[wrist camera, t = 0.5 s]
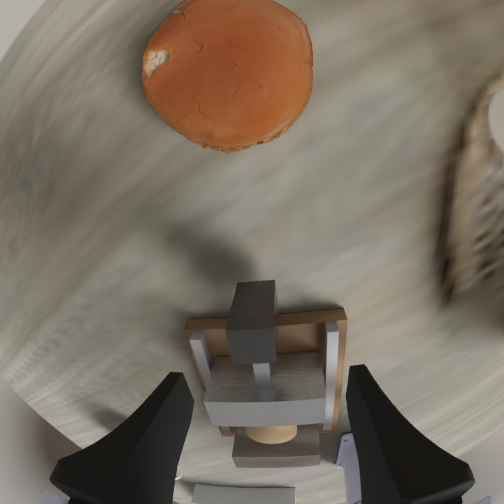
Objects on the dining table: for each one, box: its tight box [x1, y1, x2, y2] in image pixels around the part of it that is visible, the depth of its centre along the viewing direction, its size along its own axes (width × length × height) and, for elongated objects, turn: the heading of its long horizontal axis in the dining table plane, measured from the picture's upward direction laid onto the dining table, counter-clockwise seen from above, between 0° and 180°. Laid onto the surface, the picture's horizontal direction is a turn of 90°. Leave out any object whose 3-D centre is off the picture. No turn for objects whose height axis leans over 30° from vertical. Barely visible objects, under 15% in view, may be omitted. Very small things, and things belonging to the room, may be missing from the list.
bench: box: [184, 308, 347, 468], centre depth 23 cm, size 15×12×6 cm
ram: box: [203, 280, 326, 427], centre depth 19 cm, size 9×8×5 cm
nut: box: [246, 425, 297, 444], centre depth 22 cm, size 4×4×4 cm
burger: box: [141, 0, 313, 153], centre depth 14 cm, size 10×9×5 cm
